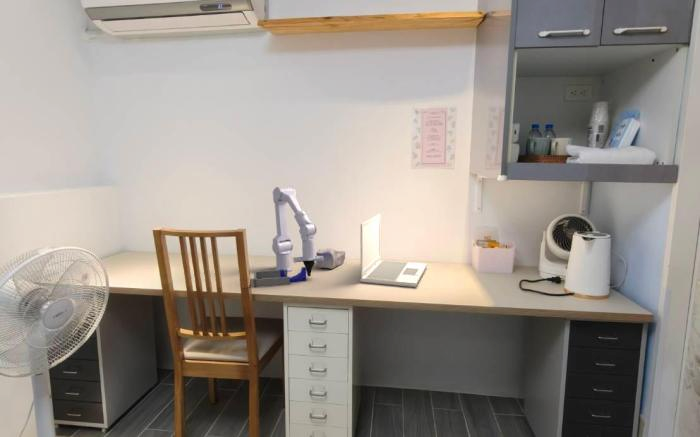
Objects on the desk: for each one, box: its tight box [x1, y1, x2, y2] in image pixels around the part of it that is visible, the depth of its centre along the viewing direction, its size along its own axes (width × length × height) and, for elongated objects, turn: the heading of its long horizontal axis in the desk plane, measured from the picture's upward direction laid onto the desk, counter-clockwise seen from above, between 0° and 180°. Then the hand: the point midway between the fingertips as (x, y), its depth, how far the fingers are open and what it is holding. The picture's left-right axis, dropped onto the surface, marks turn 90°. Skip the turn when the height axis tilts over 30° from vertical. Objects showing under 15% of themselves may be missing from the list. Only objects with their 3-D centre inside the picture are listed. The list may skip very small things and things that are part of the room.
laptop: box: [359, 213, 428, 288], centre depth 197 cm, size 35×26×28 cm
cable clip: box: [280, 266, 307, 284], centre depth 190 cm, size 12×4×6 cm, turn 108°
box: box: [253, 269, 291, 288], centre depth 190 cm, size 14×16×4 cm
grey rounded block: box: [315, 248, 346, 270], centre depth 217 cm, size 13×11×20 cm
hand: (308, 275), depth 194 cm, fingers closed
